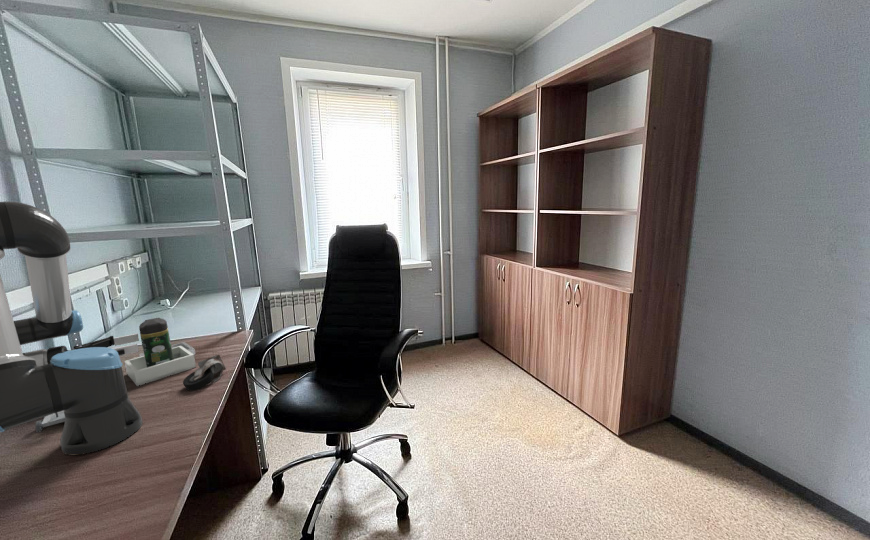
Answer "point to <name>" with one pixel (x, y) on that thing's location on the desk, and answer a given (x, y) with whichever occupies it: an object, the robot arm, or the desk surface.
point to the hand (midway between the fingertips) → (138, 342)
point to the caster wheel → (205, 373)
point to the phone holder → (50, 420)
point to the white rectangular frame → (179, 345)
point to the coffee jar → (155, 341)
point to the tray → (159, 367)
